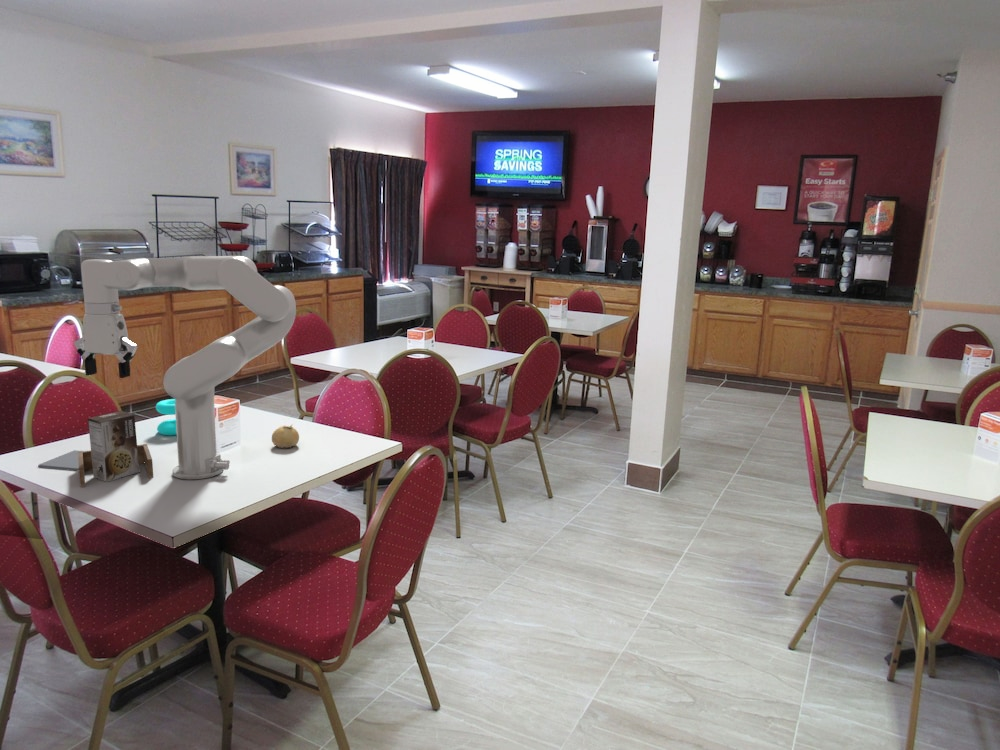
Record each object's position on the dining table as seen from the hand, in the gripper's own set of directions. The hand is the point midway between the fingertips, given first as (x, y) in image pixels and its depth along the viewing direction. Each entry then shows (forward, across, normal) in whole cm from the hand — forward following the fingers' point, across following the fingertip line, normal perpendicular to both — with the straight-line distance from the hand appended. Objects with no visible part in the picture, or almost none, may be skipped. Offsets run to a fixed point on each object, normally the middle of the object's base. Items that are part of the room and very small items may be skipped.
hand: (108, 375), depth 178 cm
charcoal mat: (+26, +17, -6) cm, 32 cm away
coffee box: (+27, 0, 0) cm, 27 cm away
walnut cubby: (+27, 0, -1) cm, 27 cm away
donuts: (+27, +10, -38) cm, 48 cm away
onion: (+27, -30, -34) cm, 53 cm away
